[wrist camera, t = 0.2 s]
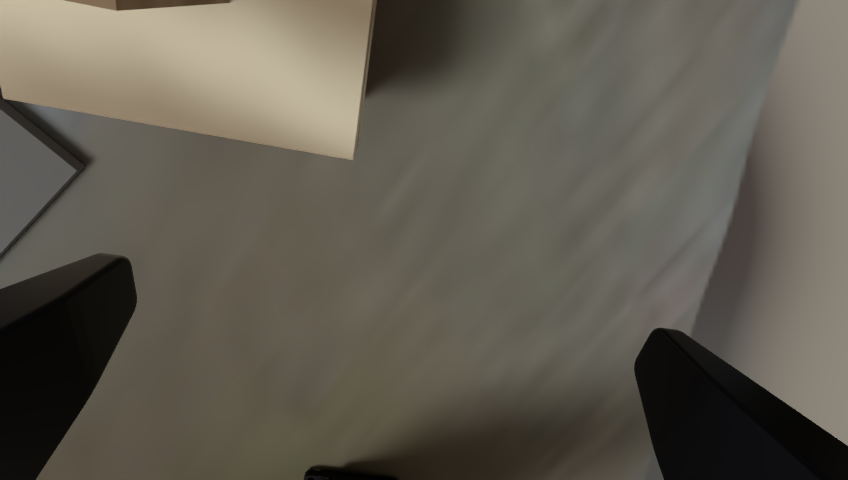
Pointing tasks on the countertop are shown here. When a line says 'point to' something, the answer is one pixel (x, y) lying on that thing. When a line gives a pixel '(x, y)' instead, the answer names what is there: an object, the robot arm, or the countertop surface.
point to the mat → (28, 173)
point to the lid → (198, 65)
